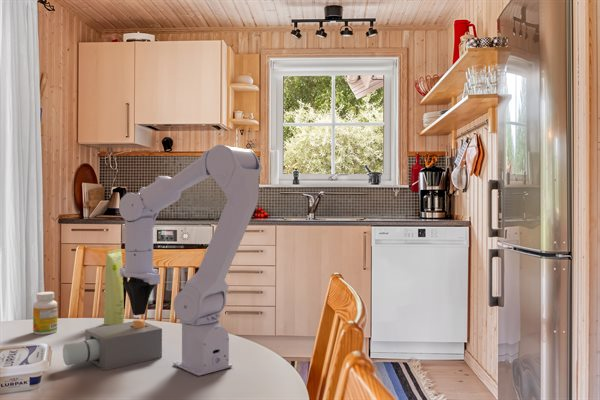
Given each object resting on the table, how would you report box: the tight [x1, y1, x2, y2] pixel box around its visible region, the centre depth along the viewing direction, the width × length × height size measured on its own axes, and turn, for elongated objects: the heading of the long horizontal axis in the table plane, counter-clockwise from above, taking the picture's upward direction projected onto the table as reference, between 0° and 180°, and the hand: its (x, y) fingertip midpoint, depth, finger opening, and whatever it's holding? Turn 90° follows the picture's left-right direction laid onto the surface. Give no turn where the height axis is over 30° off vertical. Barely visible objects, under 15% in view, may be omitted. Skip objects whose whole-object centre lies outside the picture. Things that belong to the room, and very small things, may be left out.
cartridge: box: [62, 339, 100, 366], centre depth 105 cm, size 13×4×4 cm, turn 133°
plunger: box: [132, 318, 146, 329], centre depth 111 cm, size 2×2×3 cm
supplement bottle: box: [32, 291, 58, 336], centre depth 129 cm, size 5×5×10 cm
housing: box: [84, 321, 163, 371], centre depth 108 cm, size 12×10×6 cm
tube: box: [103, 248, 125, 326], centre depth 138 cm, size 6×5×20 cm
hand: (139, 314), depth 111 cm, fingers closed
